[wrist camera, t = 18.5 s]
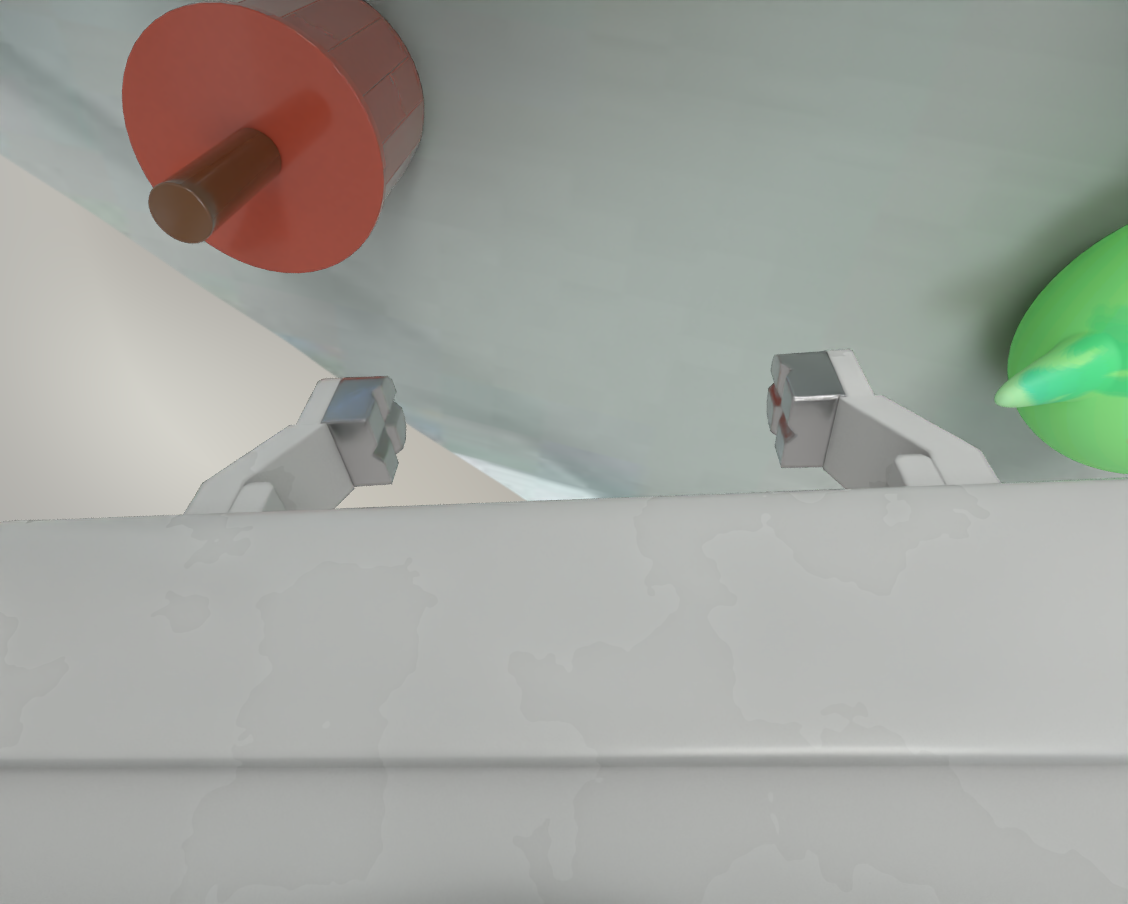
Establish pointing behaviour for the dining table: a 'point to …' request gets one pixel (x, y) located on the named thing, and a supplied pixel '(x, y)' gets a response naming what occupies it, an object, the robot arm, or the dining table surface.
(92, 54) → the dining table surface
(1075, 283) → the toy bird
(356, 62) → the pot
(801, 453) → the robot arm
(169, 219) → the lid
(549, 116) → the dining table surface
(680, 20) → the dining table surface
